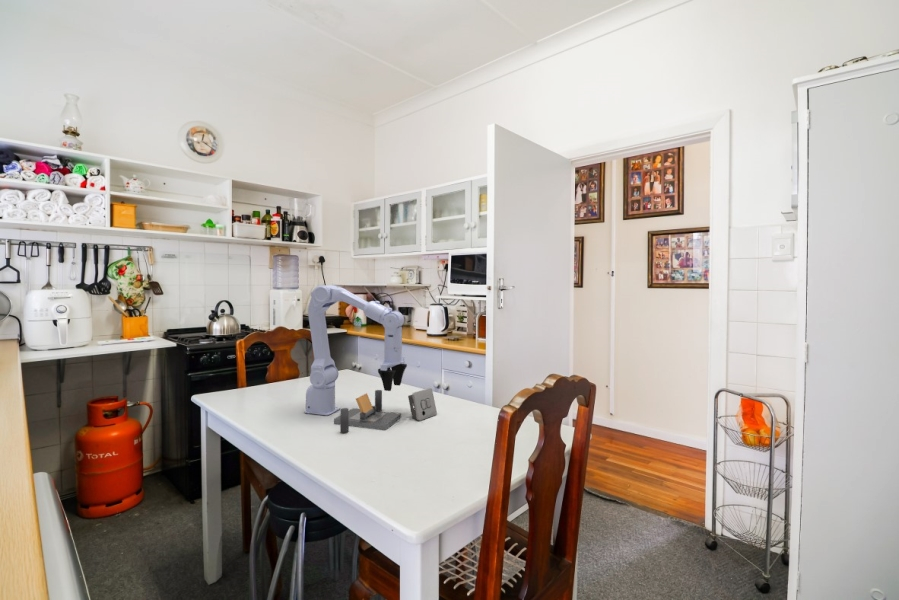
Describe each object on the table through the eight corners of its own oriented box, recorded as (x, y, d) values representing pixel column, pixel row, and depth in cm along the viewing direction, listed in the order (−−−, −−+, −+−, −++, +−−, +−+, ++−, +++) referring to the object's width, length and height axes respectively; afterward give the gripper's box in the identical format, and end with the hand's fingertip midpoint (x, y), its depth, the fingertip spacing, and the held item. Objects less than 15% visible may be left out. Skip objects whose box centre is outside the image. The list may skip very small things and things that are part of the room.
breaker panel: (334, 423, 138) (334, 412, 138) (352, 412, 150) (352, 401, 150) (385, 430, 133) (385, 418, 133) (400, 418, 145) (401, 407, 145)
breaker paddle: (362, 419, 139) (354, 399, 139) (371, 413, 145) (363, 394, 145) (366, 417, 138) (358, 397, 139) (375, 411, 144) (367, 392, 145)
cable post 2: (373, 410, 152) (373, 391, 152) (376, 409, 155) (376, 389, 154) (380, 411, 152) (380, 391, 151) (382, 409, 154) (383, 390, 154)
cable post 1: (338, 432, 130) (338, 410, 130) (343, 430, 133) (343, 407, 132) (345, 433, 130) (345, 410, 129) (350, 431, 132) (350, 408, 132)
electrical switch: (418, 421, 142) (417, 393, 142) (407, 420, 145) (406, 392, 145) (437, 415, 149) (435, 388, 149) (426, 413, 152) (424, 387, 152)
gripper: (395, 351, 136) (394, 394, 137) (412, 345, 150) (411, 383, 151) (374, 350, 139) (374, 392, 139) (393, 343, 152) (393, 382, 153)
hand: (392, 387), depth 145 cm, fingers open, 7 cm apart
